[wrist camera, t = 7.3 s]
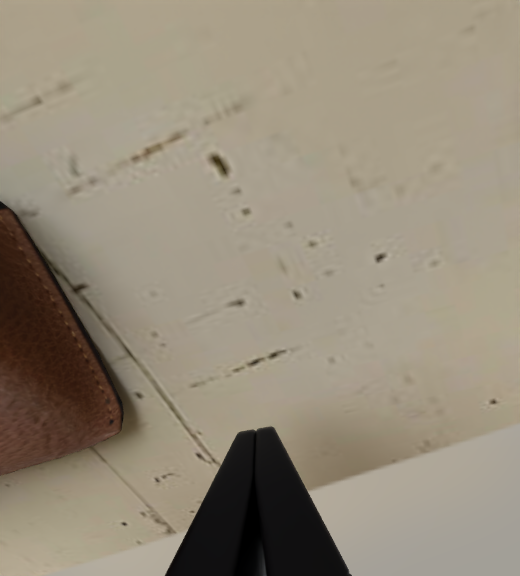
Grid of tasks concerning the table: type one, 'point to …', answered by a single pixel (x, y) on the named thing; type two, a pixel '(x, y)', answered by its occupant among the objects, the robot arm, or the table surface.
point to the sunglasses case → (45, 363)
